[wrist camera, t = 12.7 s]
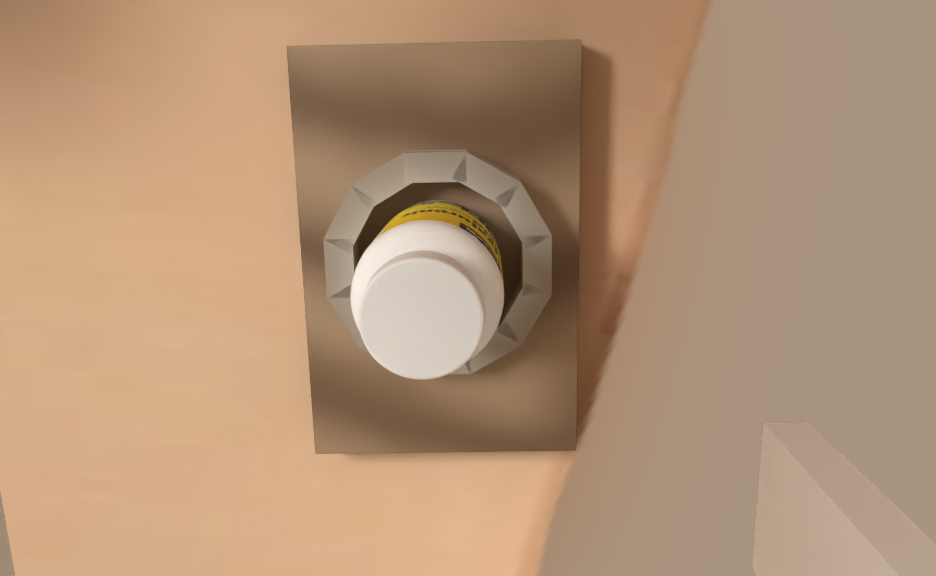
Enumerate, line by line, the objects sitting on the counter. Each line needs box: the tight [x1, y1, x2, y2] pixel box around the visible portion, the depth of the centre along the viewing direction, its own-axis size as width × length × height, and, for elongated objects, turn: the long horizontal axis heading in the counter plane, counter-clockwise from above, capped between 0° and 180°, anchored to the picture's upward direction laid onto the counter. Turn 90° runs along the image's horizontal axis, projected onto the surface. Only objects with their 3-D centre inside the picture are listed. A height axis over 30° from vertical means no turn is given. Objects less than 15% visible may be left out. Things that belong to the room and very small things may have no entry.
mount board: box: [287, 40, 582, 454], centre depth 34 cm, size 18×12×3 cm, turn 1°
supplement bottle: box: [350, 200, 504, 380], centre depth 29 cm, size 5×5×10 cm
